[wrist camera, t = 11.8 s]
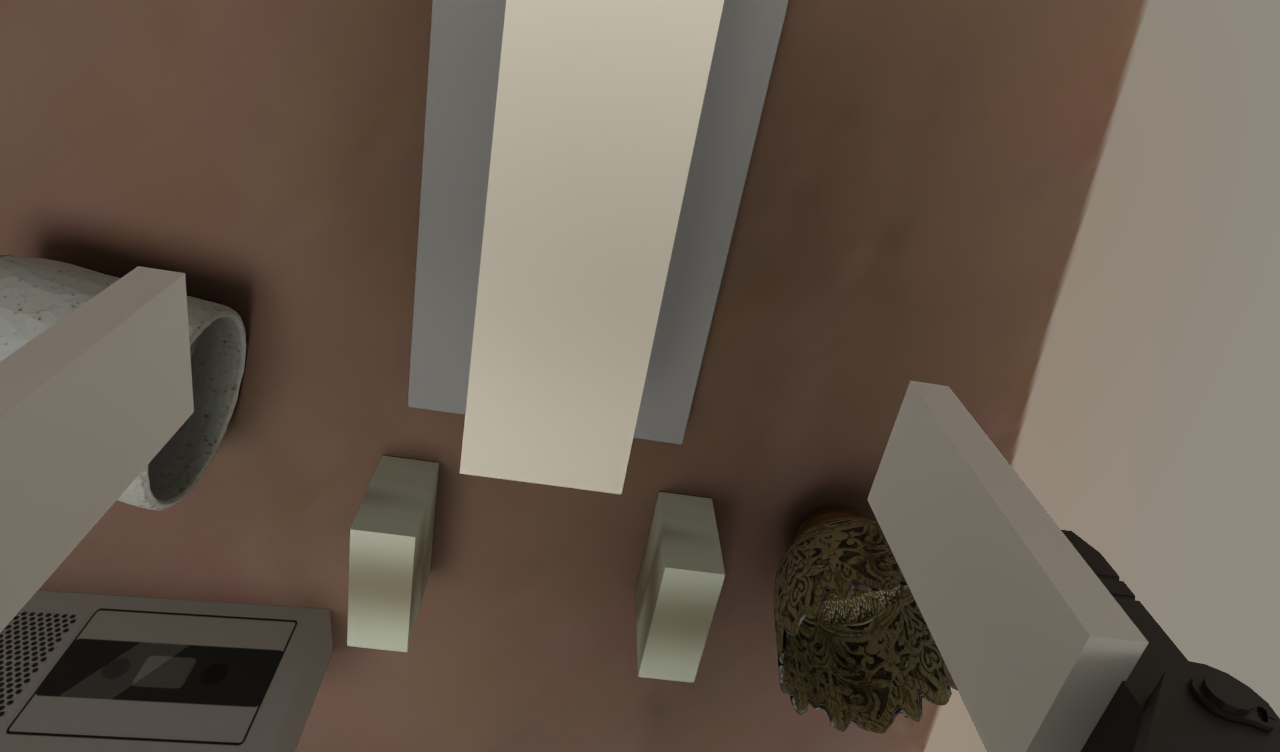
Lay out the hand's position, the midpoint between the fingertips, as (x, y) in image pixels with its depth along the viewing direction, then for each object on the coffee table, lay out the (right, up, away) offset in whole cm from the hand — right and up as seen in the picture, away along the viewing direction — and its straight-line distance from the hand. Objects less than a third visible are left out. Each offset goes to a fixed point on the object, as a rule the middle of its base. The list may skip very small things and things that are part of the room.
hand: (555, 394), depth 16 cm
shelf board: (0, +5, +9) cm, 10 cm away
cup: (+10, -7, +23) cm, 26 cm away
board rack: (-3, -7, +23) cm, 24 cm away
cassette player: (-21, -11, +25) cm, 34 cm away
